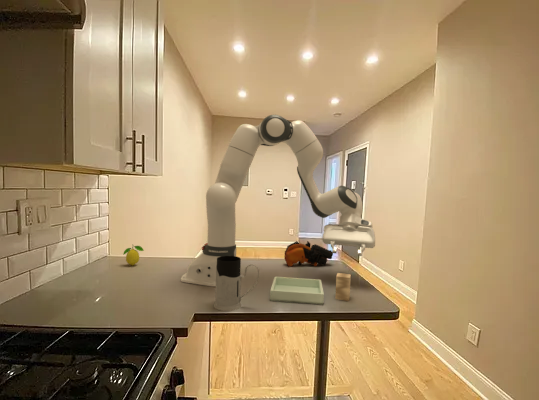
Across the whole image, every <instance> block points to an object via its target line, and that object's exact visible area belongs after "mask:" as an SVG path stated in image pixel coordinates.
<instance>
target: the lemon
mask: <svg viewBox="0 0 539 400" xmlns="http://www.w3.org/2000/svg"><path fill="white" fill-rule="evenodd" d="M139 251H140V252H143V251H145V250H144V248H143V247H142V246H140V245H133V246H132V247H128V248H125V249H124V251H123V253H122V254H123V255H125V261H126V263H127V264H128V265H130V266H132V267H133V266H134V265H136V264H138V263H139V260H140V254H139Z"/></svg>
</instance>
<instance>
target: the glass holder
mask: <svg viewBox="0 0 539 400" xmlns="http://www.w3.org/2000/svg"><path fill="white" fill-rule="evenodd" d="M241 260H242V259H241V257H239V256H237V255H236V256H221V257H218V258H217V265H216V286H215V295H214V296H215V301H214V303H213V308H214V309H216V310H218V311H221V312H223V311H224V312H230V311H235V310H236V311H237V310H239V309H240V308H242V302H241V300H242V298H243V297H244V296H245V295H247V294H248V293H249V292H250V291H252V290H253V289H254V288H255V286H256V285H257V283H258V281H259V277H260V269H259V266H258V265H256V264H255V263H250V264H248V265H246V267H245V269H244V275H242V273H241V269H242V268H241V264H242V261H241ZM250 266H252V267H253V266H254V267H255V268H256V269H257V278H256V281H255V283H254V284H253V286H252V287H251V288H250V289H248V290H247V291H246V292H245V293H243V294H242V295H241V281H242V280H241V279H242V278H244V277H246V276H247V270H248V268H249V267H250Z"/></svg>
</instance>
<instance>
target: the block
mask: <svg viewBox="0 0 539 400" xmlns="http://www.w3.org/2000/svg"><path fill="white" fill-rule="evenodd" d="M351 281H352V280H351V274H349V273H344V272H343V273H342V272H337V273H336V278H335V294H334V295H335V299H334V300H339V301H346V302H349V301H350V298H351V297H350V296H351Z"/></svg>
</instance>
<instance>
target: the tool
mask: <svg viewBox="0 0 539 400" xmlns="http://www.w3.org/2000/svg"><path fill="white" fill-rule="evenodd" d="M333 256H334V253H333V252H332V250H330V249H327V248H325V247H323V246H320V245H318V244H315V243H314V244H312V245H311V243H310V241H308V240H307V242H306V243H305V244H304V243H301V242H300V243H299V241H298V240H297V241H295V242H292V243H290V244H289V245H287V247H286V249H285V250H284V261H285V263H286V265H287V266H288V267H293V265H294V264H298V265H299V266H301V265H303V264H305V263H307V264H310V265H312V266H315V267H317V266H318V265H324V266H326V265H327V261H328V260H332V258H333Z"/></svg>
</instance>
